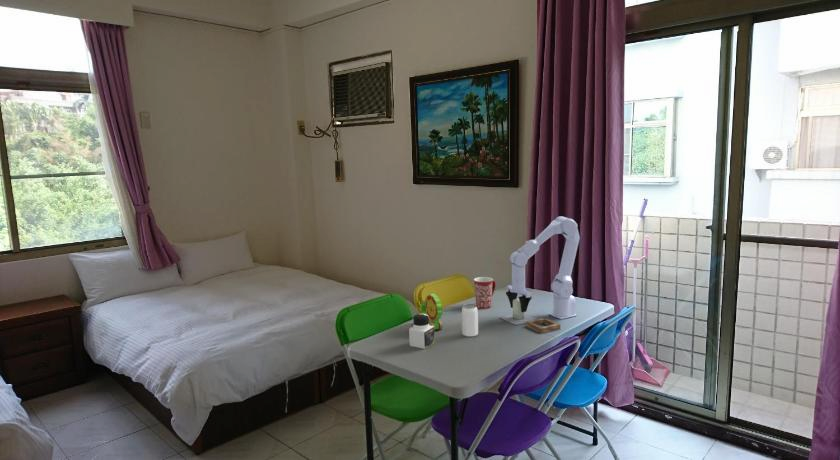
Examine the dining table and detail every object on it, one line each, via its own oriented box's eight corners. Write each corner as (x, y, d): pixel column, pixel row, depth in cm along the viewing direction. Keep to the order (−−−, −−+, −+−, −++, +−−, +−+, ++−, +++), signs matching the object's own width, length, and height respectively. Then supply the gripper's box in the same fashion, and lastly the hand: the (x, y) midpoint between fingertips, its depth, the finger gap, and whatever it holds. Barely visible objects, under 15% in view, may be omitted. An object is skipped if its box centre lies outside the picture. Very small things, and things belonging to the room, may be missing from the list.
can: (479, 332, 214) (479, 304, 212) (476, 337, 208) (475, 308, 206) (464, 331, 216) (463, 303, 214) (460, 336, 210) (459, 307, 208)
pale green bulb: (520, 315, 232) (520, 298, 230) (526, 318, 227) (526, 301, 226) (510, 317, 230) (510, 299, 228) (516, 320, 225) (516, 302, 224)
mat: (521, 313, 236) (521, 312, 236) (538, 320, 226) (538, 319, 226) (499, 317, 231) (499, 316, 231) (515, 325, 220) (515, 324, 220)
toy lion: (417, 323, 227) (416, 289, 225) (428, 321, 230) (427, 288, 227) (434, 334, 213) (433, 298, 211) (446, 331, 216) (445, 296, 213)
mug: (484, 310, 242) (484, 282, 240) (470, 306, 249) (469, 279, 247) (502, 304, 250) (502, 277, 248) (488, 301, 257) (487, 274, 255)
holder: (544, 322, 223) (544, 317, 223) (560, 329, 215) (560, 324, 214) (525, 326, 219) (525, 321, 219) (541, 333, 210) (541, 328, 210)
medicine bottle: (425, 349, 197) (424, 319, 196) (409, 346, 201) (408, 316, 199) (434, 343, 203) (433, 313, 202) (419, 340, 207) (418, 311, 205)
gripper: (501, 277, 230) (501, 306, 232) (521, 284, 217) (521, 315, 219) (514, 275, 233) (514, 304, 235) (534, 281, 220) (534, 312, 223)
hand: (518, 309), depth 228 cm, fingers open, 7 cm apart
